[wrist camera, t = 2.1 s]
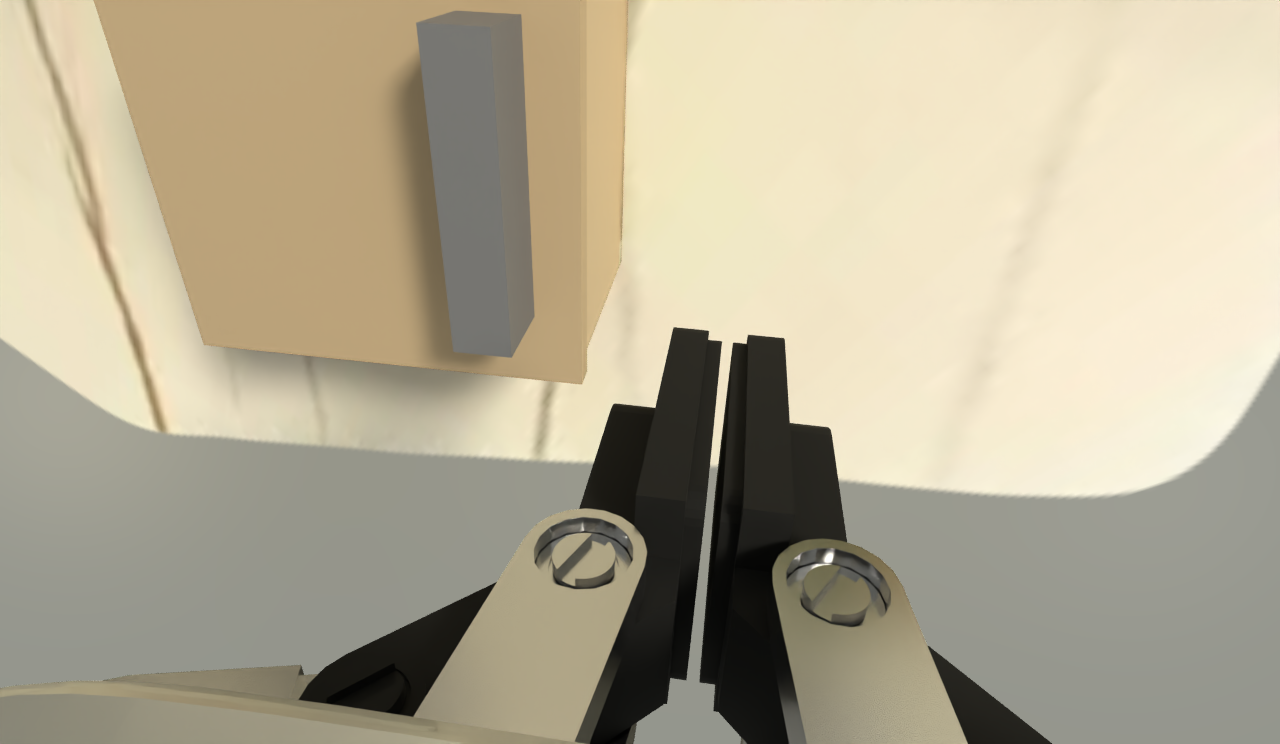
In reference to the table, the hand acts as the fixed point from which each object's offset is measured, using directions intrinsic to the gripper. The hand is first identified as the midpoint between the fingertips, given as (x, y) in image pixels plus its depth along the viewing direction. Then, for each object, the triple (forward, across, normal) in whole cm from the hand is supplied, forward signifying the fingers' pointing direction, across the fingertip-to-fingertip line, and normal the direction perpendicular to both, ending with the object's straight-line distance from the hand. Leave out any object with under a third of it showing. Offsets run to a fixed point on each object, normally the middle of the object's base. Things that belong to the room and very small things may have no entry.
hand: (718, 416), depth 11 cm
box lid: (+10, +10, -1) cm, 14 cm away
